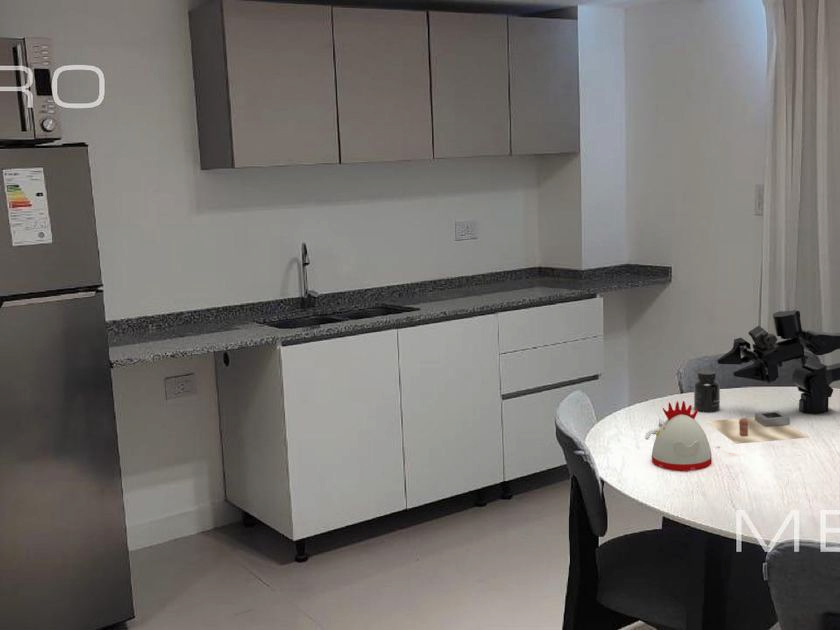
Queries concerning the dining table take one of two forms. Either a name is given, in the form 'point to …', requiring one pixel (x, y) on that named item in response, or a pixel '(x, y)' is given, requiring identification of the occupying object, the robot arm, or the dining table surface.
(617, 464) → the dining table surface
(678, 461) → the kitchen timer
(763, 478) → the dining table surface
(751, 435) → the keeper board
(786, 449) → the dining table surface
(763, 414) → the grey square frame
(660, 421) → the pliers
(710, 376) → the supplement bottle
